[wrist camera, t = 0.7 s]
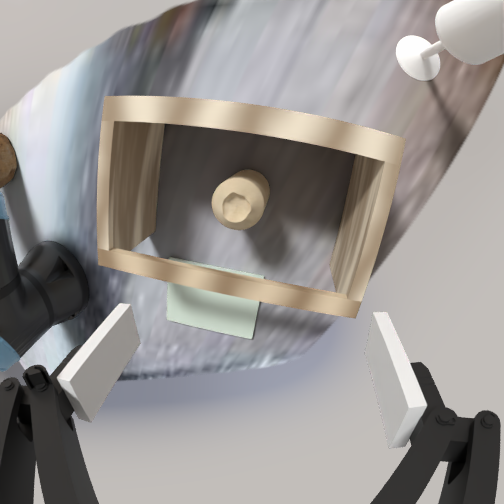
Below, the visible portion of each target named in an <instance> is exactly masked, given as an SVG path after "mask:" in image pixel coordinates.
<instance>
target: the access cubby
mask: <svg viewBox="0 0 504 504" xmlns="http://www.w3.org/2000/svg"><path fill="white" fill-rule="evenodd" d="M165 124H178V125H189V126H199V127H208V128H217V129H225V130H233V131H240V132H247V133H254V134H260V135H266V136H272V137H278V138H284V139H289V140H294V141H300V142H305V143H310V144H314V145H319V146H324V147H328V148H333V149H337V150H342V151H346V152H350V153H354V154H356V155H355V160H354V165H353V169H352V174H351V179H350V183H349V188H348V192H347V197H346V201H345V206H344V210H343V214H342V218H341V222H340V226H339V230H338V234H337V238H336V242H335V246H334V250H333V254H332V257H331V261H330V269H331V273H332V277H333V281H334V285H335V289H336V293H335V292H330V291H324V290H319V289H314V288H308V287H303V286H297V285H292V284H287V283H282V282H276V281H271V280H266V279H261V278H256V277H251V276H246V275H241V274H236V273H231V272H226V271H221V270H216V269H211V268H206V267H201V266H197V265H192V264H187V263H182V262H177V261H173V260H168V259H163V258H159V257H154V256H150V255H145V254H140V253H136V252H131V250H132V249H133V248H134V247H136V246H137V245H138V244H140V243H141V242H142V241H143V240H145V239H146V238H147V237H149V236H150V235H151V234H152V233H154V232H155V229H156V211H157V197H158V184H159V173H160V162H161V153H162V144H163V135H164V127H165ZM405 141H406V139H405V138H401V137H398V136H395V135H392V134H388V133H385V132H381V131H378V130H374V129H371V128H367V127H363V126H359V125H356V124H352V123H348V122H343V121H339V120H335V119H331V118H326V117H321V116H317V115H312V114H307V113H302V112H296V111H291V110H285V109H279V108H273V107H267V106H260V105H253V104H246V103H238V102H229V101H220V100H209V99H197V98H183V97H162V96H105V99H104V106H103V115H102V124H101V134H100V146H99V160H98V181H97V244H98V265H101V266H105V267H109V268H113V269H117V270H121V271H125V272H129V273H133V274H137V275H141V276H145V277H150V278H154V279H158V280H162V281H167V282H171V283H175V284H180V285H184V286H189V287H193V288H198V289H202V290H207V291H211V292H216V293H221V294H226V295H230V296H235V297H240V298H245V299H250V300H255V301H260V302H265V303H270V304H276V305H281V306H286V307H292V308H297V309H303V310H308V311H314V312H320V313H325V314H331V315H337V316H344V317H349V318H356V316H357V313H358V310H359V307H360V305H361V302H362V299H363V296H364V293H365V290H366V287H367V285H368V282H369V279H370V276H371V273H372V269H373V266H374V263H375V260H376V257H377V254H378V250H379V247H380V244H381V240H382V237H383V233H384V230H385V226H386V222H387V219H388V215H389V211H390V207H391V204H392V200H393V196H394V191H395V187H396V183H397V179H398V174H399V170H400V165H401V161H402V156H403V151H404V146H405Z"/></svg>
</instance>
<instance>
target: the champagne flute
mask: <svg viewBox="0 0 504 504" xmlns="http://www.w3.org/2000/svg"><path fill="white" fill-rule="evenodd" d="M435 26H436V31H437V35H438V37H439V39H440V41H438V42H436V43H434V44H433V45H431V44H430V43H429V42H428V41H426V40H425V39H423V38H421V37H418V36H407V37H404V38H402V39H401V40H400V41H399V43H398V45H397V48H396V56H397V60H398V62H399V64H400V66H401V67H402V69H403V70H404V71H405V72H406V73H407V74H408V75H409V76H411V77H413V78H415V79H417V80H421V81H428V80H431V79H433V78H434V77H436V75H437V74H438V72H439V69H440V59H439V56H438V53H439V52H441V51H443V50H445V49H446V50H447V51H448V52H449V53H450V54H452V55H453V56H454V57H455V58H457V59H459V60H461V61H462V62H465V63H467V64H472V65H479V64H482V63H485V62H487V61H489V60H491V59H493V58H495V57H497V56H499V55H501V54H503V53H504V0H454V1H452V2H450V3H448V4H446V5H444V6H442V7H441V8H440V9H439V10H438V12H437V14H436V18H435Z"/></svg>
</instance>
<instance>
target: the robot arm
mask: <svg viewBox="0 0 504 504" xmlns="http://www.w3.org/2000/svg"><path fill="white" fill-rule="evenodd" d="M88 298H89V289H88V283H87V279H86V276H85V274H84V271H83V269H82V267H81V266H80V264H79V262H78V261H77V259H76V258H75V257H74V256H73V254H72V253H71V252H70V251H69V250H67V249H66V248H65V247H64V246H62V245H60V244H58V243H56V242H53V241H45V242H42V243H40V244H38V245H36V246H35V247H33V248H32V249H31V250H30V251H29V252H28V254H27V255H26V257H25V258H24V259H23V261H22V262H21V263H20V265H19V266H18V264H17V260H16V256H15V252H14V247H13V242H12V237H11V232H10V226H9V216H8V215H7V211H6V206H5V201H4V196H3V194H2V193H1V192H0V372H3V371H6V370H7V369H9V368H10V367H11V366H12V365H13V364H14V363H16V362H18V361H19V360H20V358H21V357H22V356H23V355H24V354H25V353H26V352H27V351H28V350H29V349H30V348H31V347H32V346H33V345H34V343H35V342H36V341H37V340H38V339H39V338H40V337H42V336H43V335H44V334H45V333H46V332H47V331H48V330H49V329H50V328H51V327H52V326H54V325H57V324H60V323H62V322H65V321H67V320H71V319H73V318H75V317H76V316H78V315H79V314H80V313H81V312H82V311H83V310H84V309H85V307H86V305H87V303H88ZM139 345H140V339H139V335H138V331H137V327H136V323H135V319H134V315H133V311H132V307H131V304H122V303H119V305H118V306H117V307H116V308H115V309H114V310H113V311H112V312H111V314H110V315H109V316H108V317H107V318H106V319H105V320H104V322H103V323H102V324H101V325H100V326H99V327H98V328H97V330H96V331H95V332H94V333H93V334H92V335H91V337H90V338H89V339H88V340H87V341H86V342H85V344H84V345H83V346H81V345H79V346H77V347H76V348H74V349H73V350H71V352H70V353H69V354H68V355H67V356H66V358H65V359H64V360H63V361H62V362H61V363H60V365H59V366H58V367H57V368H56V369H55V371H54V372H53V373H52V374H51V375H50V376H49V374H48V372H47V370H46V368H45V367H44V366H42V365H34V366H31V367H29V368H28V369H26V370H25V372H24V373H23V379H24V380H25V382H26V384H27V386H21V384H20V382H19V381H18V379H16V378H12V377H11V378H7V379H6V380H4V381H3V382H1V384H0V504H33V497H34V478H35V465H36V462H37V468H38V473H39V478H40V483H41V489H42V493H43V497H44V502H45V504H99V503H98V500H97V497H96V495H95V492H94V490H93V486H92V484H91V481H90V478H89V475H88V471H87V468H86V465H85V462H84V458H83V455H82V452H81V448H80V444H79V440H78V437H77V433H76V428H75V424H74V420H73V418H72V416H71V415H72V413H73V412H74V411H75V413H76V414H77V416H78V418H79V419H82V420H85V421H88V422H92V420H93V419H94V417H95V416H96V414H97V412H98V411H99V409H100V407H101V406H102V404H103V402H104V401H105V399H106V397H107V396H108V394H109V392H110V391H111V389H112V388H113V386H114V384H115V383H116V381H117V380H118V378H119V376H120V375H121V373H122V372H123V370H124V369H125V367H126V365H127V364H128V362H129V361H130V359H131V357H132V356H133V354H134V353H135V351H136V350H137V348H138V347H139ZM365 356H366V359H367V363H368V367H369V370H370V374H371V378H372V381H373V385H374V389H375V393H376V397H377V401H378V405H379V409H380V413H381V417H382V421H383V425H384V430H385V434H386V438H387V443H388V448H389V449H391V448H397V447H404V446H406V444H407V442H408V441H409V439H410V441H411V447H410V449H409V450H408V452H407V454H406V455H405V457H404V458H403V460H402V461H401V463H400V464H399V466H398V467H397V469H396V470H395V471H394V473H393V474H392V476H391V477H390V479H389V480H388V481H387V483H386V484H385V485H384V487H383V488H382V490H381V491H380V492H379V493H378V495H377V496H376V497H375V498H374V500H373V501H372V502H371V503H370V504H416V502H417V500H418V499H419V498H420V496H421V494H422V493H423V491H424V489H425V488H426V486H427V484H428V483H429V481H430V479H431V477H432V475H433V474H434V472H435V470H436V468H437V466H438V464H439V462H440V461H446V462H448V467H447V472H446V476H445V480H444V484H443V488H442V492H441V496H440V500H439V503H438V504H495V497H496V490H497V481H498V471H499V458H500V419H499V418H498V416H497V415H496V414H495V413H493V412H491V411H481V412H479V413H478V414H477V415H476V416H475V418H462V417H457V415H456V413H455V412H454V411H453V410H451V409H449V408H446V407H445V405H444V403H443V401H442V398H441V396H440V394H439V391H438V389H437V387H436V385H435V383H434V380H433V378H432V376H431V374H430V372H429V370H428V368H427V367H426V366H425V365H424V364H422V363H421V362H416V363H410V362H409V360H408V357H407V355H406V353H405V351H404V348H403V346H402V344H401V342H400V339H399V337H398V335H397V333H396V331H395V329H394V326H393V324H392V322H391V320H390V318H389V316H388V314H387V312H373V315H372V320H371V326H370V331H369V336H368V340H367V345H366V350H365Z"/></svg>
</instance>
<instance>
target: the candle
mask: <svg viewBox="0 0 504 504" xmlns="http://www.w3.org/2000/svg"><path fill="white" fill-rule="evenodd" d="M269 195H270V187H269V184H268V181H267V180H266V178H265V177H264V176H263V175H262V174H261V173H259V172H257V171H254V170H242V171H239V172H237V173H236V174H234V175H233V176H231V177H230V178H228V179H227V180H225V181H224V182H223V183H221V184H220V185H219V186H218V187H217V188H216V190H215V192H214V194H213V197H212V209H213V213H214V215H215V217H216V218H217V220H218V221H219V222H220V223H221V224H223V225H224V226H226V227H228V228H230V229H234V230H244V229H248V228H250V227H252V226H254V225H255V224H256V223H257V222H258V221H259V220H260V218H261V217H262V215H263V212H264V209H265V207H266V204H267V202H268V199H269Z"/></svg>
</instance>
